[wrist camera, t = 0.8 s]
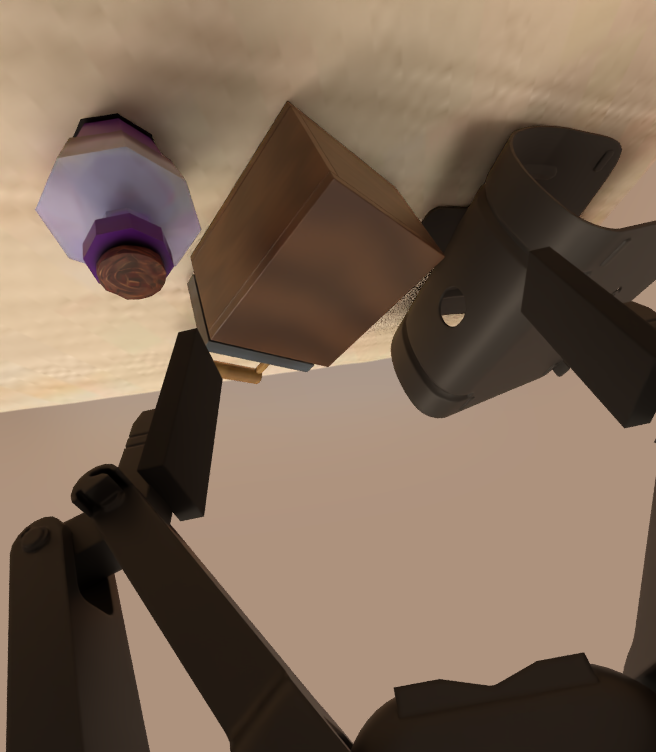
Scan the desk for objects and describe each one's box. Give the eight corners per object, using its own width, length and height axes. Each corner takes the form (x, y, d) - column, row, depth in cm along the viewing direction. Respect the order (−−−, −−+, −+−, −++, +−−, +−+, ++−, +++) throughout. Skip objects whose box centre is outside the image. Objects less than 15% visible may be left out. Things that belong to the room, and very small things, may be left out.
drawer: (256, 349, 47) (273, 405, 43) (159, 326, 39) (169, 392, 35) (370, 219, 37) (406, 276, 33) (270, 153, 29) (302, 218, 25)
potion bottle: (48, 206, 28) (44, 336, 22) (27, 63, 22) (12, 189, 16) (179, 222, 32) (205, 335, 26) (192, 106, 26) (230, 219, 20)
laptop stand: (470, 98, 32) (600, 217, 24) (646, 135, 41) (780, 229, 34) (363, 321, 51) (415, 427, 44) (499, 312, 61) (562, 397, 53)
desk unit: (299, 297, 44) (328, 367, 39) (190, 256, 35) (210, 340, 30) (395, 187, 36) (446, 256, 32) (287, 100, 28) (334, 178, 23)
